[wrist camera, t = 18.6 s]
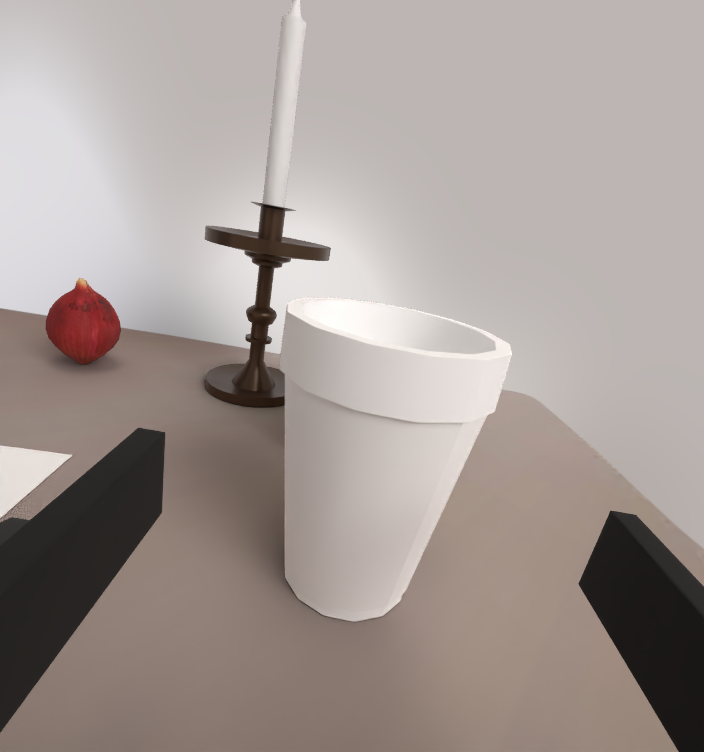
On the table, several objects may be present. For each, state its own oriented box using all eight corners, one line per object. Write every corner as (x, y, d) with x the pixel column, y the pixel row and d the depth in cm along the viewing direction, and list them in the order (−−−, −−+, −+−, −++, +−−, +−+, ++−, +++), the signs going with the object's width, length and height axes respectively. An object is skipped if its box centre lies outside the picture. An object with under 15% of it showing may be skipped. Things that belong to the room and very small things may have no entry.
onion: (133, 363, 43) (134, 283, 41) (86, 379, 38) (84, 288, 35) (84, 350, 44) (83, 271, 42) (31, 363, 39) (26, 274, 36)
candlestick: (177, 399, 37) (204, -128, 26) (214, 362, 48) (245, -28, 37) (301, 419, 38) (379, -88, 27) (312, 379, 48) (371, 0, 37)
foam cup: (344, 493, 29) (383, 298, 24) (468, 581, 23) (546, 347, 19) (214, 554, 22) (238, 295, 18) (346, 701, 16) (426, 372, 12)
